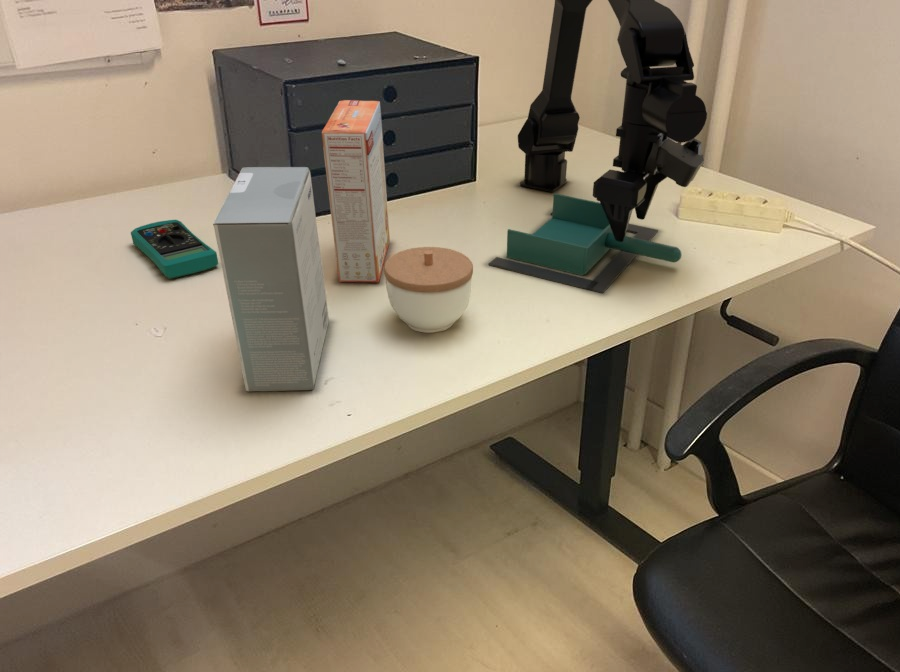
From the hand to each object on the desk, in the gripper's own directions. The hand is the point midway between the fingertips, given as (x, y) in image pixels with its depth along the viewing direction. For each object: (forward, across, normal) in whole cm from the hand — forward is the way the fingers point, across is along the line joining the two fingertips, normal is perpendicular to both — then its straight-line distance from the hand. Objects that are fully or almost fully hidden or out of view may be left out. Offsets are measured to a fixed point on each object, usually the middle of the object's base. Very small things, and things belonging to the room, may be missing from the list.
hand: (630, 229), depth 116 cm
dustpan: (+5, 0, +4) cm, 6 cm away
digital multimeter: (+5, -32, +57) cm, 65 cm away
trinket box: (+5, -30, +16) cm, 34 cm away
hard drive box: (+5, -45, +26) cm, 52 cm away
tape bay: (+5, 0, +8) cm, 9 cm away
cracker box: (+5, -20, +33) cm, 39 cm away
